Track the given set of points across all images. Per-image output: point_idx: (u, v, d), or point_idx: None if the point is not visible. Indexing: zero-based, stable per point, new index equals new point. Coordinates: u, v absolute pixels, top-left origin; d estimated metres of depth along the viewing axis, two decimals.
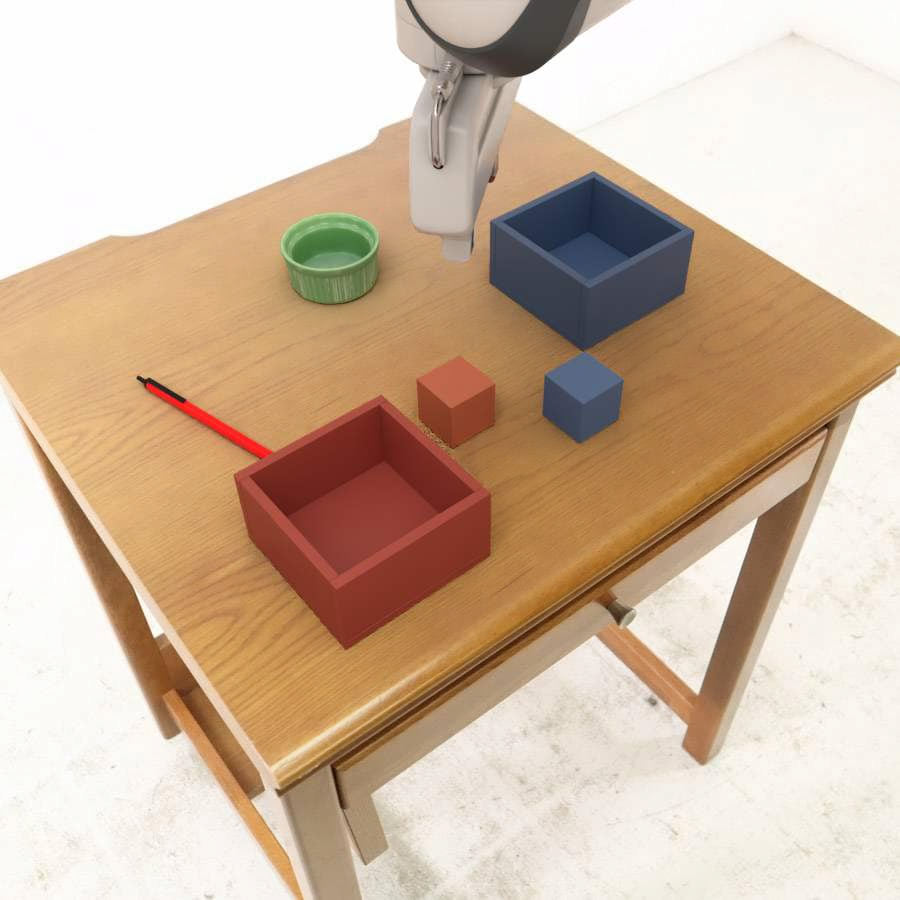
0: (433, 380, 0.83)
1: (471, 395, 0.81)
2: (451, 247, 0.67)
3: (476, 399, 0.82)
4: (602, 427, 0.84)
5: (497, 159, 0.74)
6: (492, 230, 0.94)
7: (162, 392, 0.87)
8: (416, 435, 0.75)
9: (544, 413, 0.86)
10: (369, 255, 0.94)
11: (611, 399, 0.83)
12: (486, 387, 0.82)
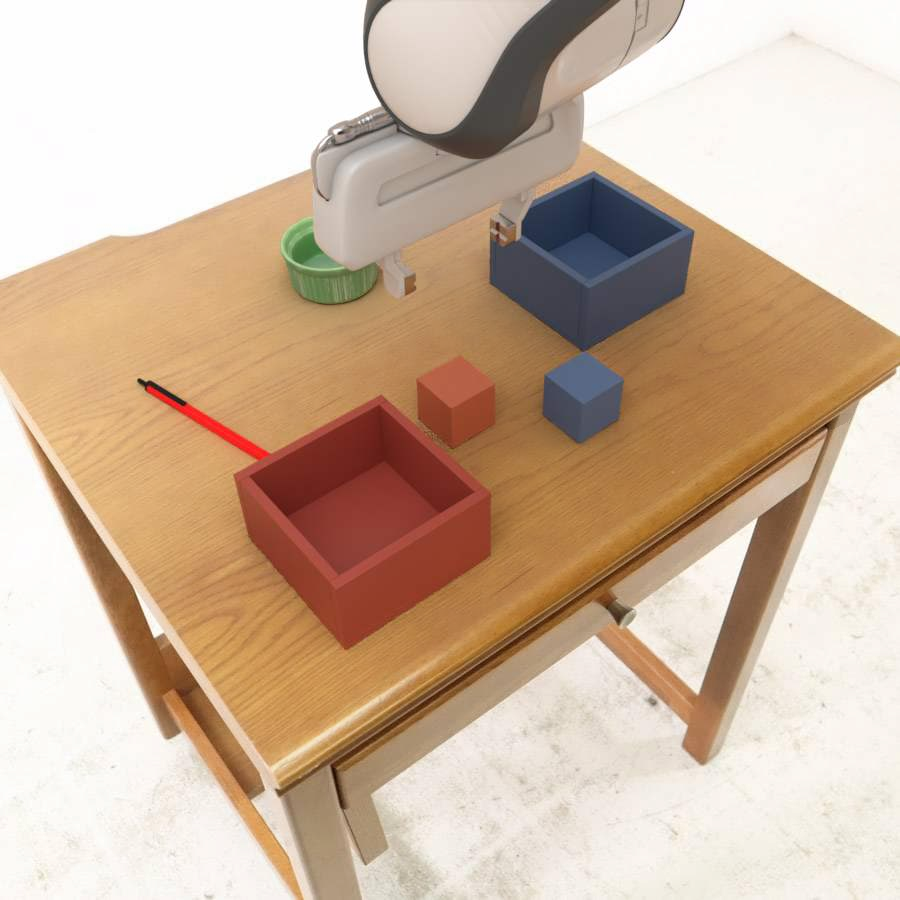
0: (433, 380, 0.83)
1: (471, 395, 0.81)
2: (388, 280, 0.72)
3: (476, 399, 0.82)
4: (602, 427, 0.84)
5: (515, 228, 0.75)
6: None
7: (163, 395, 0.88)
8: (416, 435, 0.75)
9: (544, 413, 0.86)
10: None
11: (611, 399, 0.83)
12: (486, 387, 0.82)
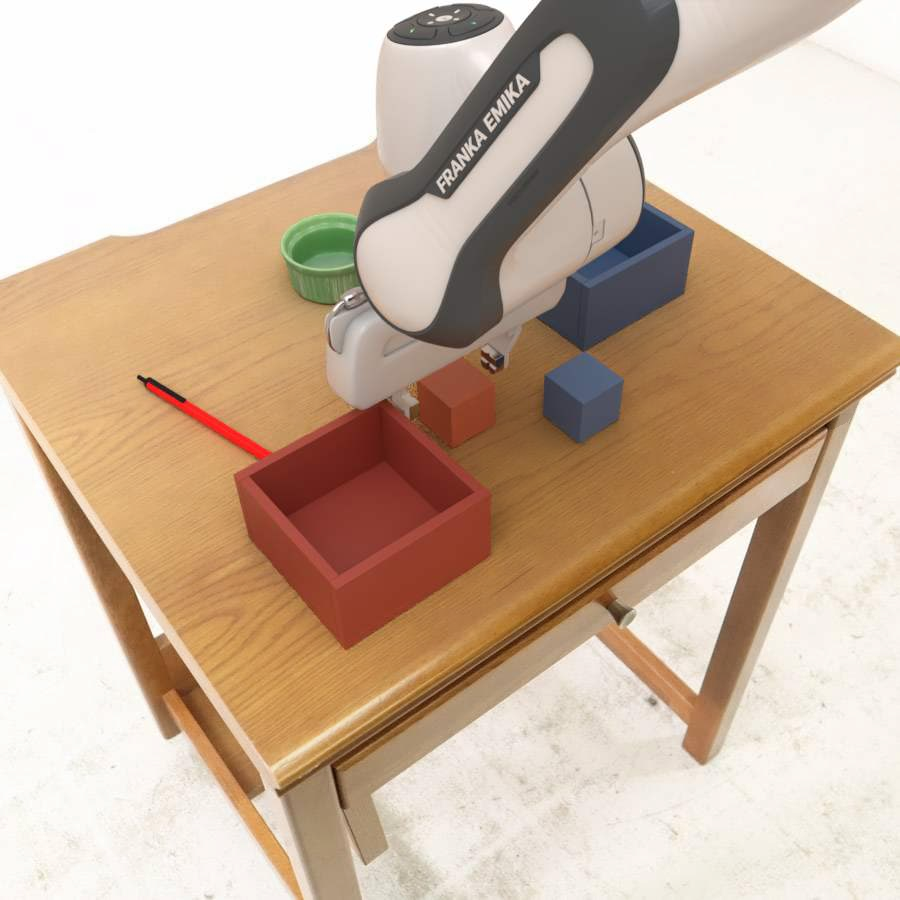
0: (433, 380, 0.83)
1: (471, 395, 0.81)
2: None
3: (476, 399, 0.82)
4: (602, 427, 0.84)
5: (504, 358, 0.84)
6: None
7: (162, 392, 0.87)
8: (416, 435, 0.75)
9: (544, 413, 0.86)
10: None
11: (611, 399, 0.83)
12: (486, 387, 0.82)
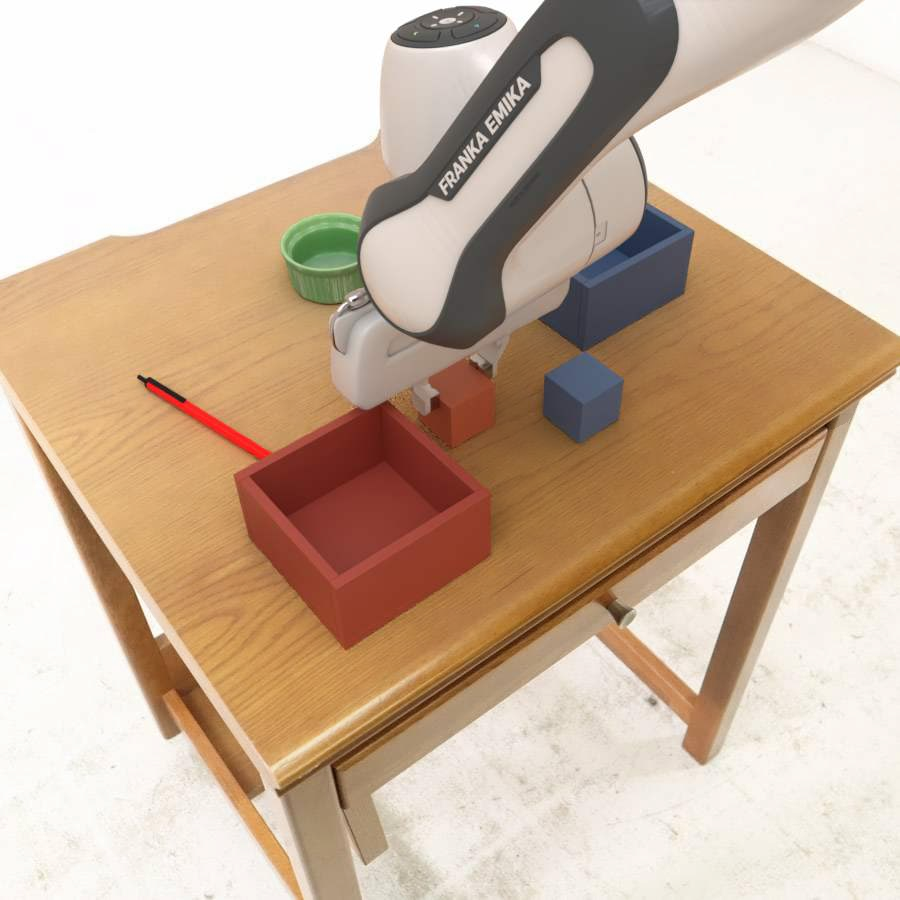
0: (432, 381, 0.83)
1: (470, 395, 0.81)
2: (415, 399, 0.81)
3: (476, 399, 0.82)
4: (602, 427, 0.84)
5: (492, 367, 0.83)
6: None
7: (162, 392, 0.87)
8: (416, 435, 0.75)
9: (544, 413, 0.86)
10: None
11: (611, 399, 0.83)
12: (486, 387, 0.82)
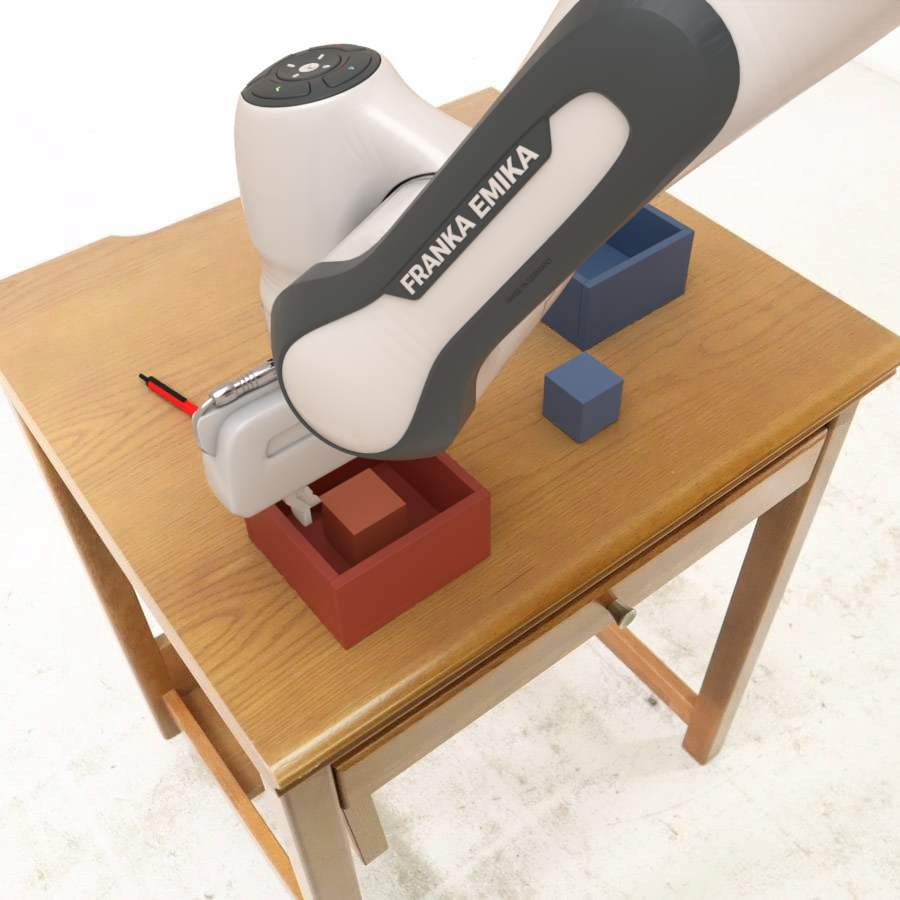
0: (336, 500, 0.73)
1: (378, 518, 0.72)
2: None
3: (384, 522, 0.72)
4: (602, 427, 0.84)
5: None
6: None
7: (163, 391, 0.88)
8: None
9: (544, 413, 0.86)
10: None
11: (611, 399, 0.83)
12: (395, 508, 0.73)
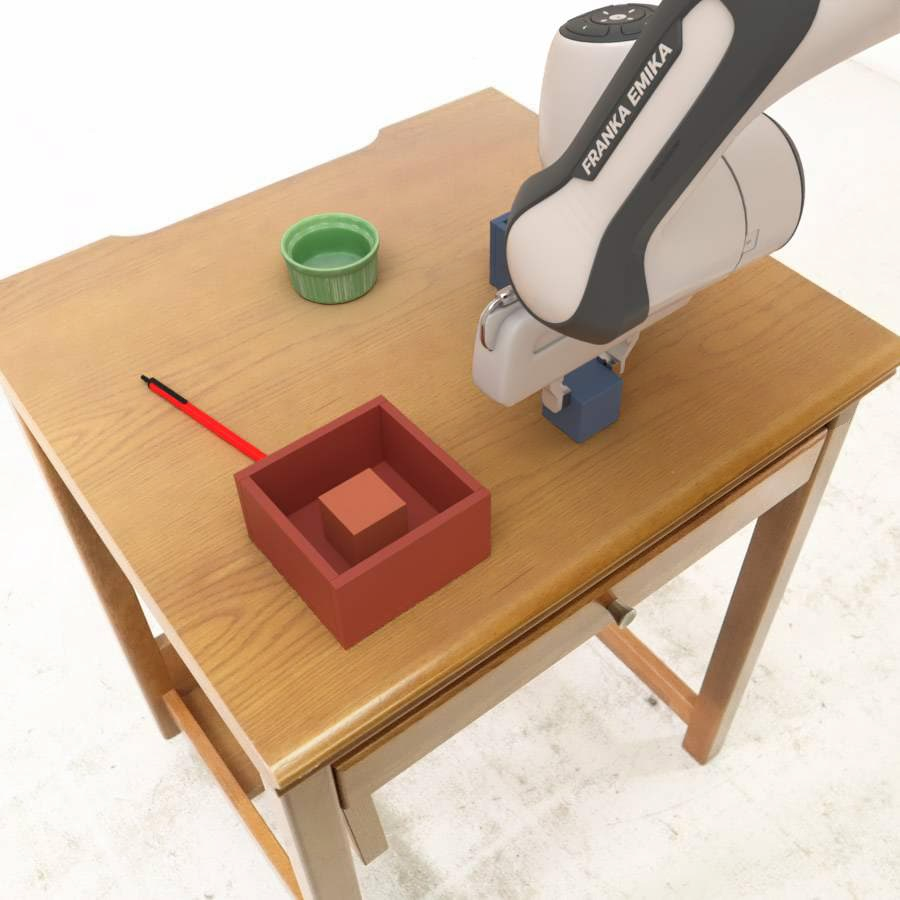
0: (336, 500, 0.73)
1: (378, 518, 0.72)
2: (547, 396, 0.81)
3: (384, 522, 0.72)
4: (602, 427, 0.84)
5: (620, 364, 0.83)
6: (492, 230, 0.94)
7: (164, 392, 0.88)
8: (416, 435, 0.75)
9: (544, 413, 0.86)
10: (369, 255, 0.94)
11: (611, 399, 0.83)
12: (395, 508, 0.73)
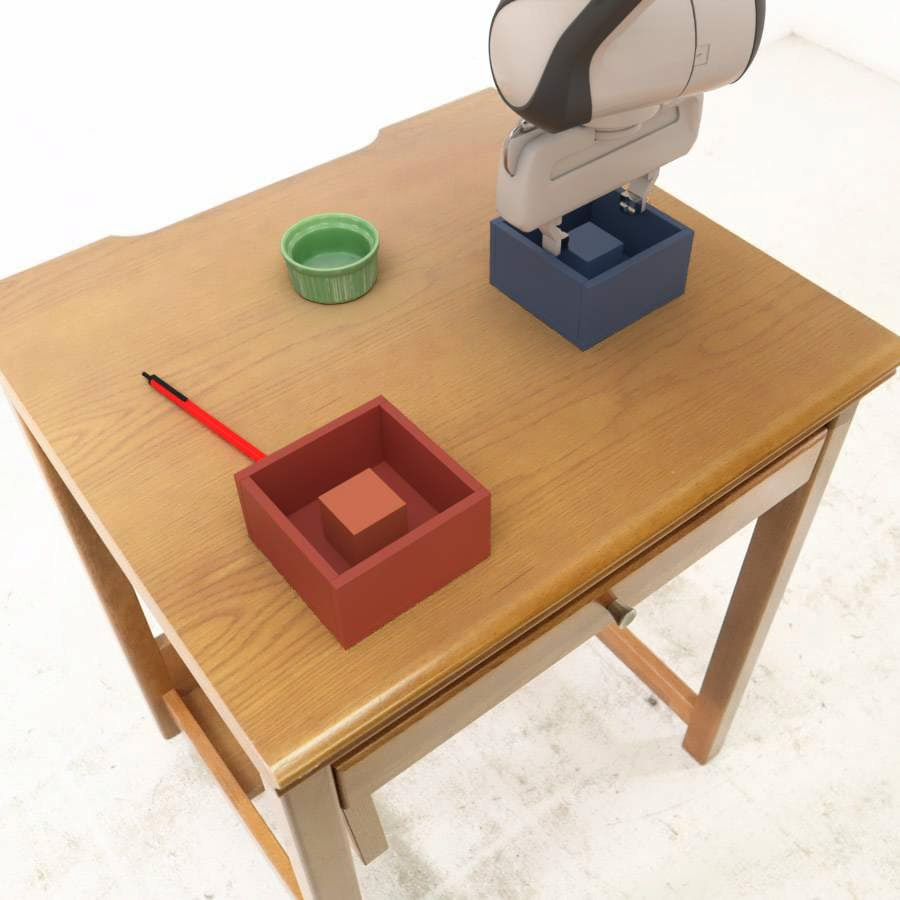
0: (336, 500, 0.73)
1: (378, 518, 0.72)
2: (547, 242, 0.90)
3: (384, 522, 0.72)
4: None
5: (642, 202, 0.93)
6: (492, 230, 0.94)
7: (165, 389, 0.88)
8: (416, 435, 0.75)
9: None
10: (369, 255, 0.94)
11: (612, 261, 0.94)
12: (395, 508, 0.73)
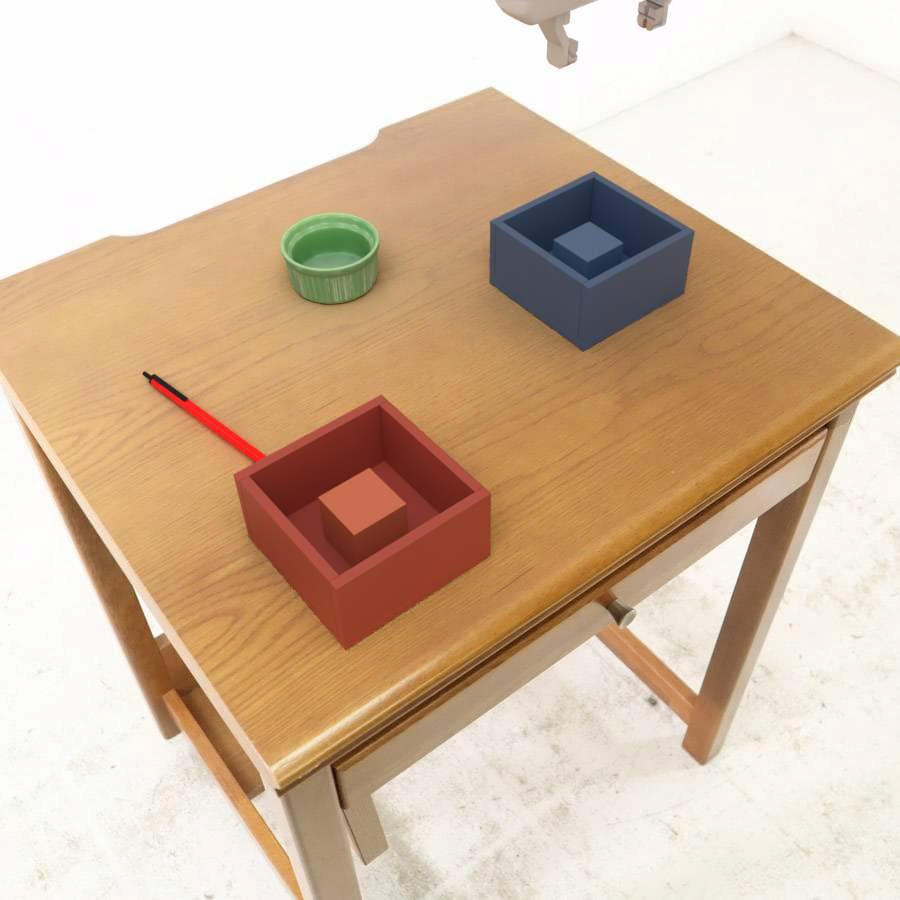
0: (336, 500, 0.73)
1: (378, 518, 0.72)
2: (552, 50, 0.78)
3: (384, 522, 0.72)
4: None
5: (663, 11, 0.81)
6: (492, 230, 0.94)
7: (165, 389, 0.88)
8: (416, 435, 0.75)
9: None
10: (369, 255, 0.94)
11: (612, 261, 0.94)
12: (395, 508, 0.73)
